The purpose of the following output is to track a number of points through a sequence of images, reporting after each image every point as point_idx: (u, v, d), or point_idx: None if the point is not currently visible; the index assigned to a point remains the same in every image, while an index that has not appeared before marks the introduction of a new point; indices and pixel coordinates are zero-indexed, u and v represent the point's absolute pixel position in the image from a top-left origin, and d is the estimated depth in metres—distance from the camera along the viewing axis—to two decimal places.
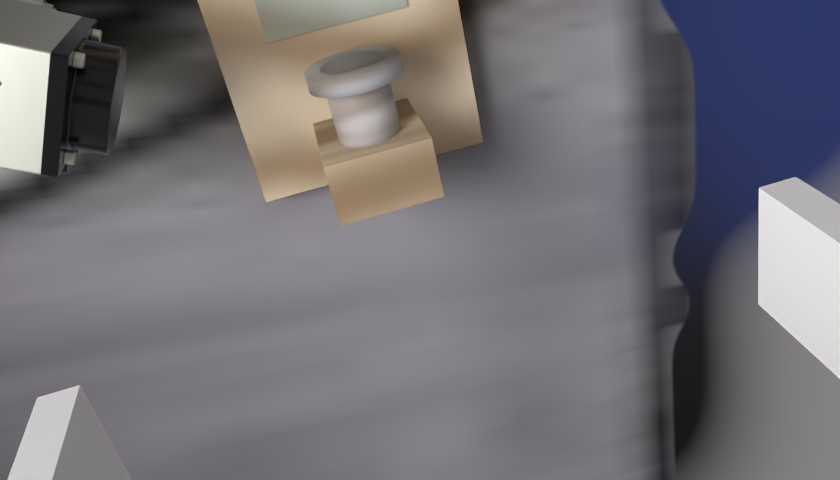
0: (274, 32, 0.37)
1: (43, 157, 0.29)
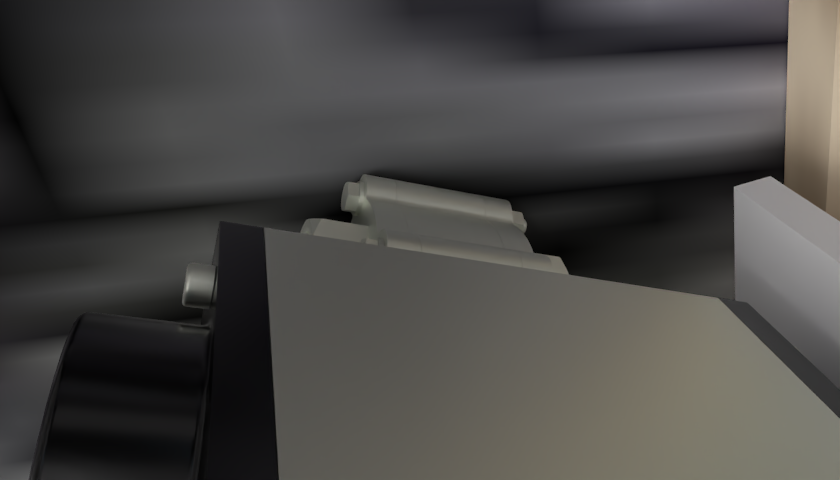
0: None
1: None
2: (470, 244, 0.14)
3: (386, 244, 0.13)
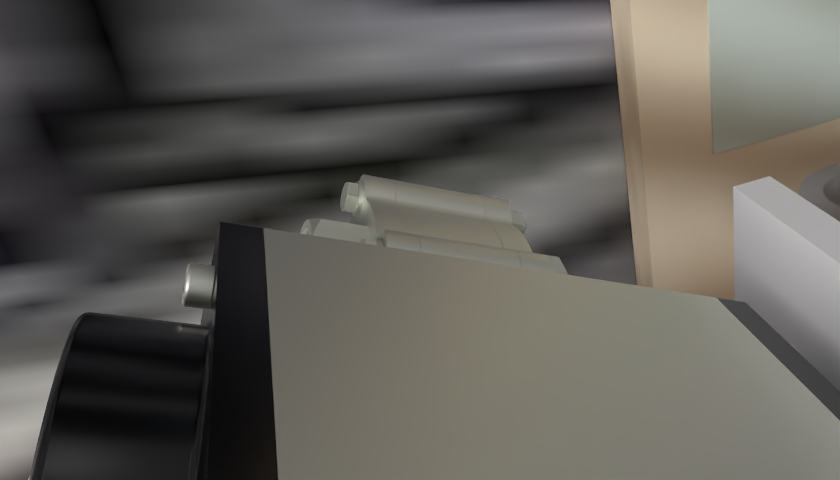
0: (724, 139, 0.27)
1: None
2: (469, 244, 0.14)
3: (385, 244, 0.13)
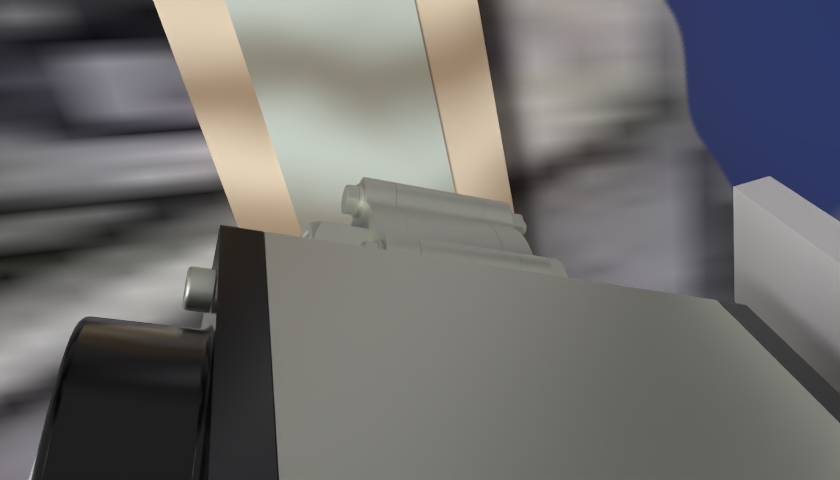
0: None
1: None
2: (470, 247, 0.14)
3: (386, 247, 0.13)
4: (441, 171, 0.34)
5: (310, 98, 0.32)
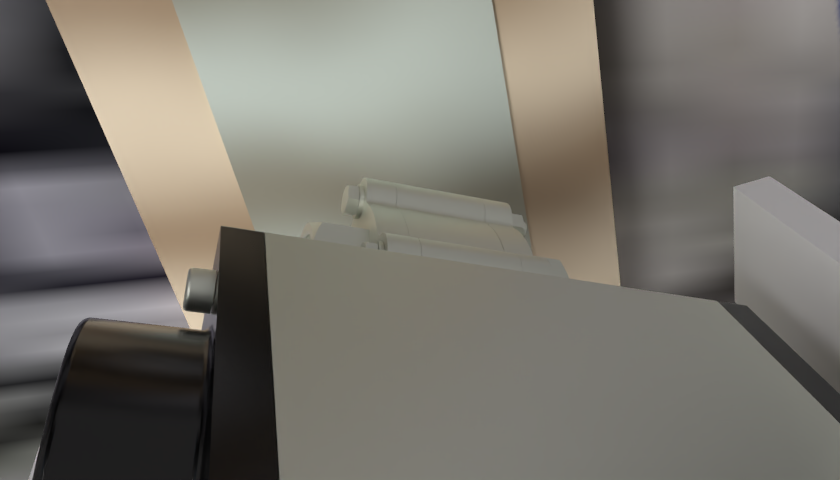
0: None
1: None
2: (470, 247, 0.14)
3: (386, 248, 0.13)
4: None
5: None
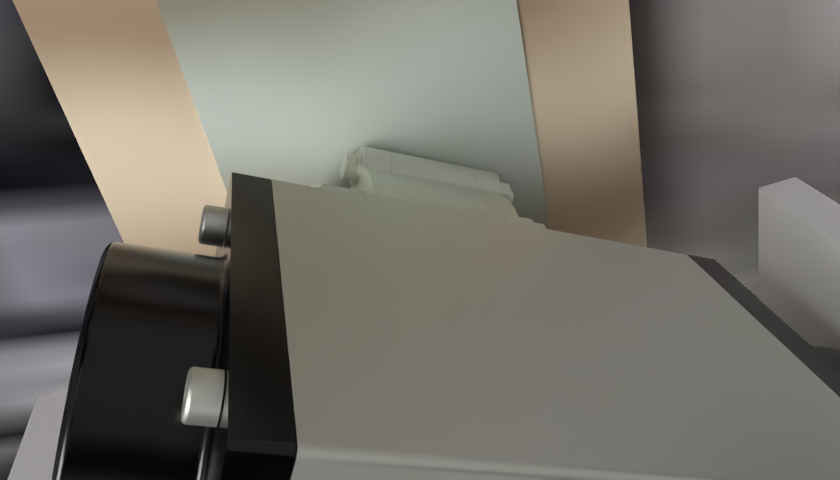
0: None
1: None
2: (460, 206, 0.15)
3: None
4: None
5: None
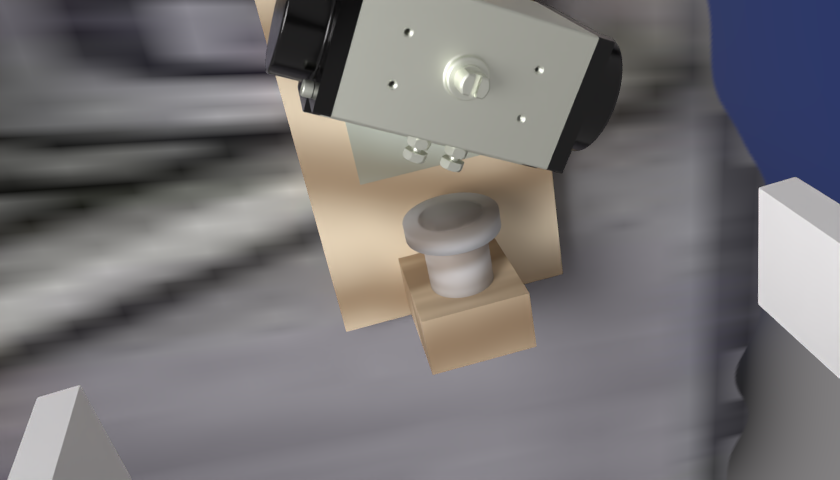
0: (367, 174, 0.37)
1: (555, 151, 0.27)
2: None
3: None
4: None
5: None
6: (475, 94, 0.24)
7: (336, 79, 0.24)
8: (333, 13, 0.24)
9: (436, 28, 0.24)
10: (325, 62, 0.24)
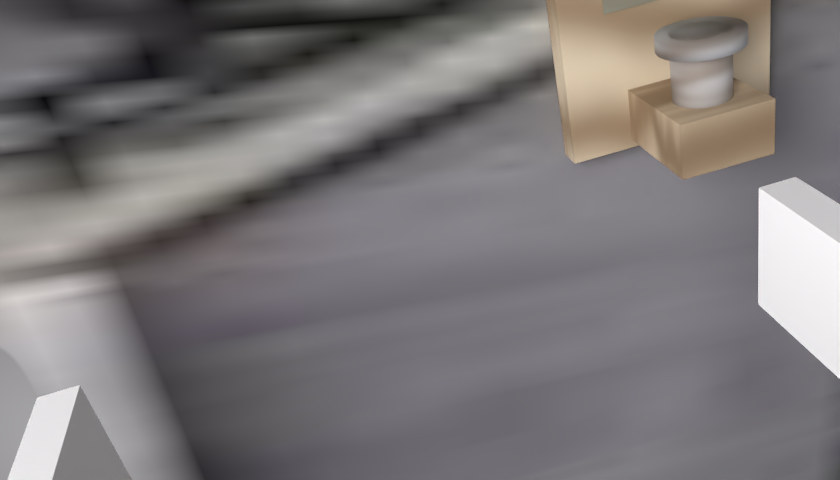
0: (610, 4, 0.41)
1: None
2: None
3: None
4: None
5: None
6: None
7: None
8: None
9: None
10: None
